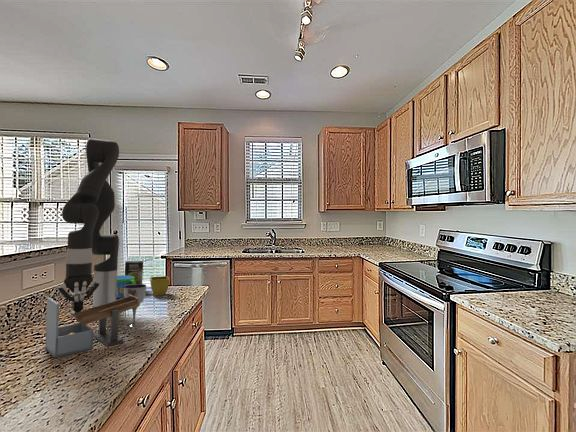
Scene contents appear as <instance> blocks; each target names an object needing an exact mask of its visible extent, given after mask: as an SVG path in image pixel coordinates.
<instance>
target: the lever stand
mask: <svg viewBox="0 0 576 432" xmlns="http://www.w3.org/2000/svg"><path fill="white" fill-rule="evenodd" d="M105 304H106V303H105ZM100 305H103V304H100ZM119 314H120V313H119V310H118V309H117V310H112V311H111V316H110V330H109V329H107V318H104V319H101V320H98V331H97V332H93V338H95V339H97V341H99V342H100V343H102V344H103V345H104V346H106V347H112V346H116V345H119V344H123V343H124V341H125V340H124V339H123V338H122V337H120V336H119V317H120V315H119Z"/></svg>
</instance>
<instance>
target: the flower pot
mask: <svg viewBox="0 0 576 432" xmlns="http://www.w3.org/2000/svg"><path fill="white" fill-rule="evenodd" d="M149 279H150V288H151V292H152V294H153V296H155V297H158V296H165V295H166V294H167V292H168V290H169V284H170V278H169V276H167V275H164V276H163V275H162V276H150V277H149Z"/></svg>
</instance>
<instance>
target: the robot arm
mask: <svg viewBox="0 0 576 432" xmlns="http://www.w3.org/2000/svg"><path fill="white" fill-rule="evenodd" d="M85 155H86V163H87V171H88V173H87V174H86V175H84V177H82V179H81V181H80V183H79V184H78V185H79V186H78V188H77V190H76V192H75V193H74V194H73V195H72V196H71V197H70V199H68V200H67V202H65V204H64V205H63V207H62V210H61V217H62V219H63V220H64V222H66V223H67V224H77V225H78V224H80V225H81V224H83V226H82V227H81V229H78V230H77V229H76V230H71V231H69V232H68V234H67V250H66V257H65V258H66V260H65V278H64V280H63V283H62V284H61V285H58V286H56V289H55V290H57V291H58V292H59V294H61V295H62V296H63V297H64V299H65V300H67V301H68V302H72V308H71V309H72V311H74V312H76V313H77V312H81V310H83V311H84V301H85V300H86V299H90V297H91V296H92V308H93V307H97V306H100V304H105V303H109V302H113V301H116V300H117V298H116V297H117V276H118V257H119V246H120V238H119V236H118V234H116V233H115V234H114V233H100V232H101V229H102V228H103V225H104V224H105V222H106V221H107V220H108V218H109V217H110V216H111V215H112V213H113V212H114V210H115V207H116V204H115V203H116V202H115V199H116V198H115V197H116V196H115V192H114V190H113V188H112V186H111V185H110V183H109V182H108V181H107V179H108V177H109V175H110V174H111V172H112V171H113V169H114V167H115V166H116V164H117V162H118V160H119V155H120V147H119V145H118V142H117V141H113V140H108V139H102V138H101V139H99V138H88V140H87V141H86V146H85ZM93 255H94V256H95V255H97V256H102V255H104V256H109V257H108V258H106V259H105V260H102V261H99V262H96V263H95V264H94V265H93ZM92 270H93V273H92ZM92 274H93V277H92ZM67 288H68V289H69V291H70V292H71V293H70V294H71V295H70V294H69V293H68V292H67Z"/></svg>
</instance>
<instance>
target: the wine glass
mask: <svg viewBox="0 0 576 432" xmlns="http://www.w3.org/2000/svg"><path fill="white" fill-rule="evenodd" d="M128 295H132V296H135V297H137V298H139V304H140V305H141V304H142V303H143V302H144V300H145V298H146V295H147V285H146V284H145V283H142V284H129V285H125V286H124V298H125V297H128ZM138 308H139V307H136V308H133V309H131V310H132V321H129V322H126V323H124V324H123V327H125V328H128V329H129V328H130V329H131V328H139V327H141V326H144V324H145V323H144V322H143V321H139V320H138V321H136V314H137V309H138Z"/></svg>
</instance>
